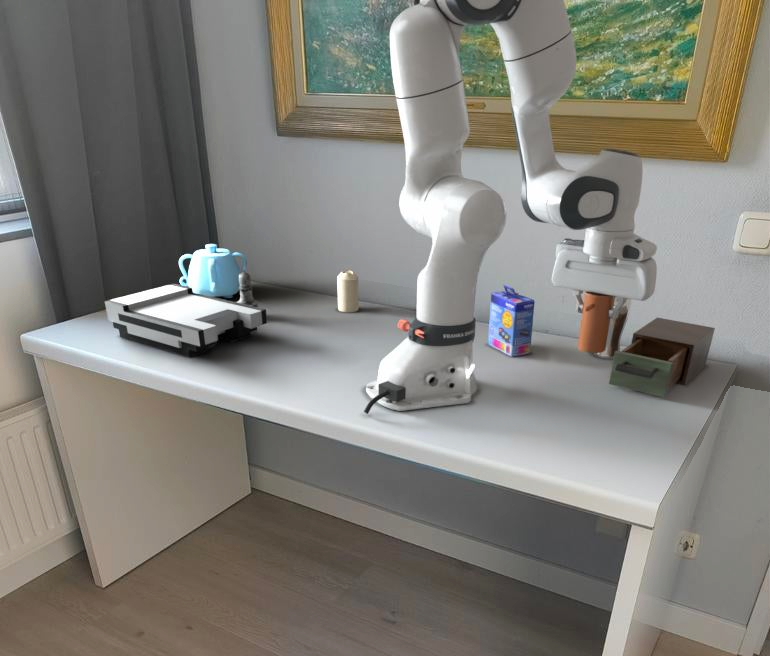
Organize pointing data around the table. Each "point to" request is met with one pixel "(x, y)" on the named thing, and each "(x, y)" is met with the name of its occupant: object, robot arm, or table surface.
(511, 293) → the ink cartridge box
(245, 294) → the salt shaker
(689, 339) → the cabinet
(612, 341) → the beer glass
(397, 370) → the robot arm
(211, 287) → the decorative pot
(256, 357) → the table surface
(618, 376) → the drawer
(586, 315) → the orange mug
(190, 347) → the game console
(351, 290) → the candle
